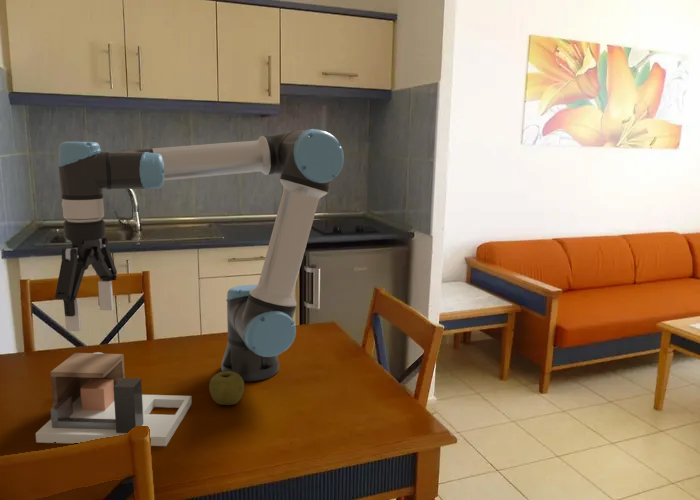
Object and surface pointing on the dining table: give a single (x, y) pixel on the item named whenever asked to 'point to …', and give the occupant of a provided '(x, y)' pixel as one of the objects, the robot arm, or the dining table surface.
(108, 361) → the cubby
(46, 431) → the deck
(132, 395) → the grey u-shaped bracket
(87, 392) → the cube
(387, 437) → the dining table surface
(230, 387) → the apple
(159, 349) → the dining table surface
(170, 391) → the dining table surface
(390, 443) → the dining table surface
